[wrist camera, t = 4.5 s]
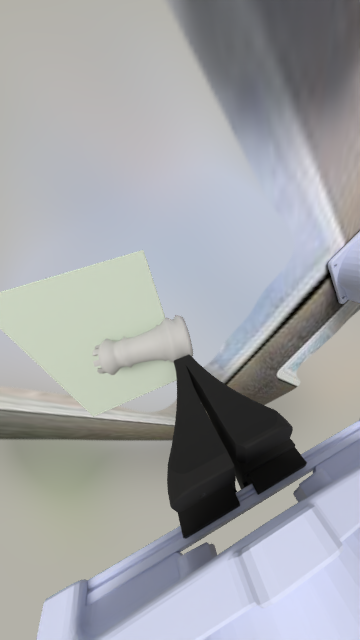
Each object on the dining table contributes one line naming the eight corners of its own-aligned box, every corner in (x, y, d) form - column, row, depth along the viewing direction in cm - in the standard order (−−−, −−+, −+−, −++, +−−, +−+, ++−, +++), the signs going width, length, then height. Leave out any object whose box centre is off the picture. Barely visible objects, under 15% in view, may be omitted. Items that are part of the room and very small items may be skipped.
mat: (143, 250, 13) (143, 250, 13) (183, 375, 22) (184, 376, 21) (-26, 299, 11) (-29, 301, 11) (93, 414, 20) (93, 416, 19)
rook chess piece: (179, 303, 14) (86, 326, 13) (195, 350, 12) (85, 381, 11) (180, 326, 18) (108, 345, 17) (192, 365, 16) (111, 388, 15)
